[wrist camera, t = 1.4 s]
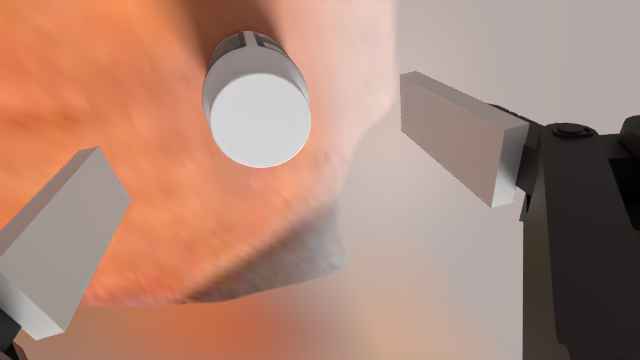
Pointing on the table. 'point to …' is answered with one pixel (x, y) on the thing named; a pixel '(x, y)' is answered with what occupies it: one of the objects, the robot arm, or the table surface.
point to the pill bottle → (255, 100)
